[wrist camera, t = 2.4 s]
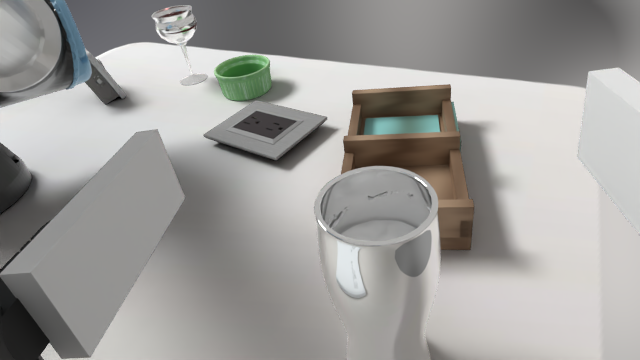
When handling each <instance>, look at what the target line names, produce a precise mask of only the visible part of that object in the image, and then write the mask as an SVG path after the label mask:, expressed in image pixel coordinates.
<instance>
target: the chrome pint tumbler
mask: <svg viewBox="0 0 640 360" xmlns="http://www.w3.org/2000/svg"><path fill="white" fill-rule="evenodd" d="M314 214H315V217H316V229H317V241H318V251H319V258H320V264H321V269H322V273H323V277H324V282H325V285H326V288H327V291H328V293H329V296H330V299H331V301H332V304H333V306H334V308H335V310H336V312H337V314H338V316H339V318H340V320H341V322H342V324H343V326H344V328H345V331H346V333H347V337H348V342H347V349H346V360H431V357H430V352H429V348H428V344H427V341H426V338H425V330H426V326H427V323H428V320H429V317H430V313H431V310H432V307H433V304H434V300H435V297H436V292H437V288H438V283H439V277H440V265H441V239H440V226H439V216H438V197H437V194H436V192H435V190H434V188H433V187H432V186H431V185H430V183H429V182H428V181H426V180H425V179H424V178H423V177H421V176H419V175H418V174H416V173H414V172H411V171H409V170H405V169H402V168H397V167H391V166H369V167H363V168H358V169H354V170H351V171H348V172H345V173H343V174H341V175H339V176H337V177H335V178H334V179H332V180H331V181H330V182H328V183H327V184H326V185H325V186H324V187H323V188H322V189H321V191H320V192H319V194H318V196H317V198H316V200H315V204H314Z"/></svg>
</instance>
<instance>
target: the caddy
mask: <svg viewBox="0 0 640 360" xmlns="http://www.w3.org/2000/svg"><path fill="white" fill-rule="evenodd" d="M352 98H353V109H352V114H351V120H350V126H349V131H348V136H344V140H343V143H344V151H345V154H344V160H343V165H342V171H341V174H343V173H345V172H348V171H351V170H354V169H358V168H363V167H369V166H391V167H397V168H402V169H405V170H409V171H411V172H414V173H416V174H418V175H419V176H421V177H423V178H424V179H425V180H426V181H428V182H429V183H430V185H431V186H432V187H433V188H434V190H435V192H436V194H437V197H438V216H439V226H440V239H441V250H470V248H471V237H472V225H473V214H474V204H473V199H469V197H468V191H467V186H466V180H465V175H464V170H463V164H462V159H461V153H460V152H461V139H460V132H459V128H458V123H457V118H456V113H455V108H454V102H451V86H450V84H449V85H433V86H417V87H400V88H384V89H368V90H353V92H352Z"/></svg>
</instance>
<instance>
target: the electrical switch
mask: <svg viewBox="0 0 640 360" xmlns="http://www.w3.org/2000/svg"><path fill="white" fill-rule="evenodd" d="M85 51H86V54H87V56H88V59H89V61H90V65H91V69H92V74H91V77H90V78H89V80H87V81H86V82H85V83H86V84H87V85H88V86H89V87H90V88H91V89H92V91H93V92H94V93H95V94H96V95H97V96H98V97H99V98H100V99H101V100H102V102H103V103H104V104H105V105H106V104H108V103H109V102H110V101H112V100H114V99H115V98H116V97H119V96H120V97H121V98H122V99H123V98H124V97H126V94H125V93H124V91H123V90H122V89H121V88H120V87H119V85H118V84H117V83H116V82H115V81H114V79H113V78H112V77H111V76H110V75H109V73H108V72H107V71H106V70H105V68H104V66H103V64H102V63H101V61H100V60H99V59H98V60H97V59H96V58H95V57H94V56H93V55H92V54H90V52H88V51H87V50H86V49H85Z"/></svg>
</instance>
